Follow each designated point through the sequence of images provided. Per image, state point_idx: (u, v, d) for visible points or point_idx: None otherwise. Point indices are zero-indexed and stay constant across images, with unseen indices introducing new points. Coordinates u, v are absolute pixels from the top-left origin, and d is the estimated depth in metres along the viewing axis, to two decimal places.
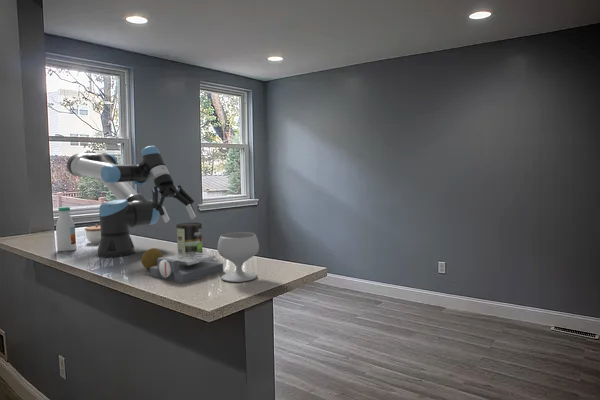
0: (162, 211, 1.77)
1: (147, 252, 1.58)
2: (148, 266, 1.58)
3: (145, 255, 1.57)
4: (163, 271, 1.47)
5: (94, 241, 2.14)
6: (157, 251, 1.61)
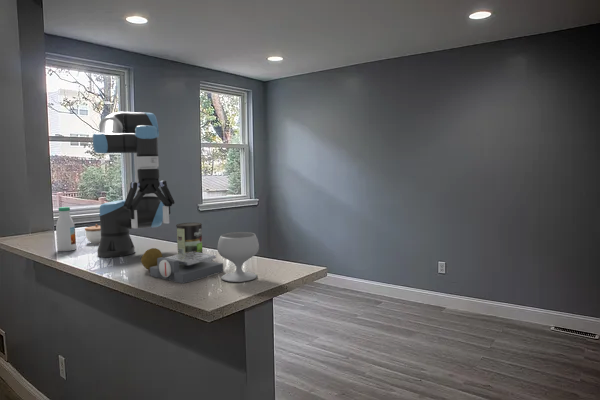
0: (132, 216, 1.53)
1: (147, 252, 1.58)
2: (148, 266, 1.58)
3: (145, 255, 1.57)
4: (163, 271, 1.47)
5: (94, 241, 2.14)
6: (157, 251, 1.61)
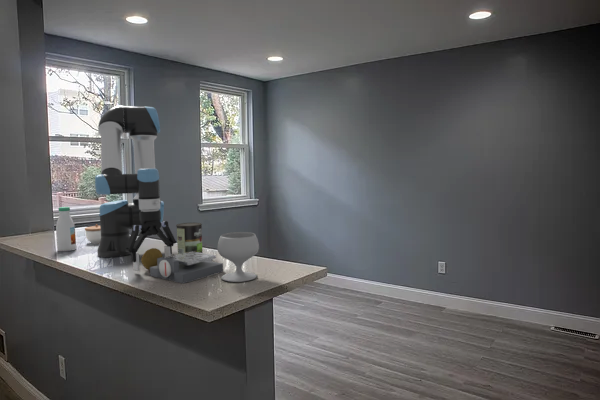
0: (134, 258, 1.54)
1: (147, 252, 1.58)
2: (148, 266, 1.58)
3: (145, 255, 1.57)
4: (163, 271, 1.47)
5: (94, 241, 2.14)
6: (157, 251, 1.61)
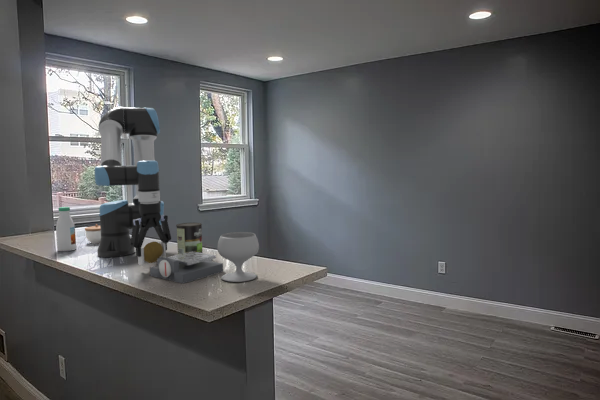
0: (139, 253, 1.56)
1: (147, 245, 1.59)
2: (148, 259, 1.59)
3: (145, 248, 1.58)
4: (163, 271, 1.47)
5: (94, 241, 2.14)
6: (157, 244, 1.62)
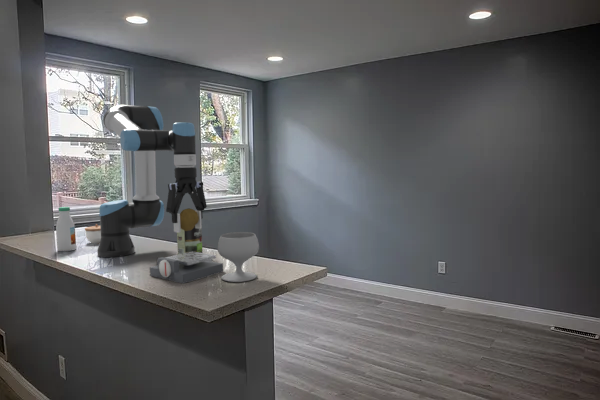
0: (175, 219, 1.49)
1: (183, 212, 1.51)
2: (184, 226, 1.51)
3: (181, 215, 1.50)
4: (163, 271, 1.47)
5: (94, 241, 2.14)
6: (193, 211, 1.54)
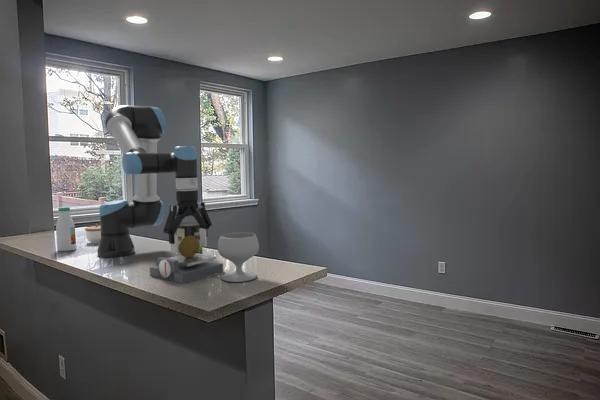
0: (173, 240, 1.48)
1: (185, 239, 1.52)
2: (186, 254, 1.52)
3: (183, 242, 1.51)
4: (163, 271, 1.47)
5: (94, 241, 2.14)
6: (194, 239, 1.55)
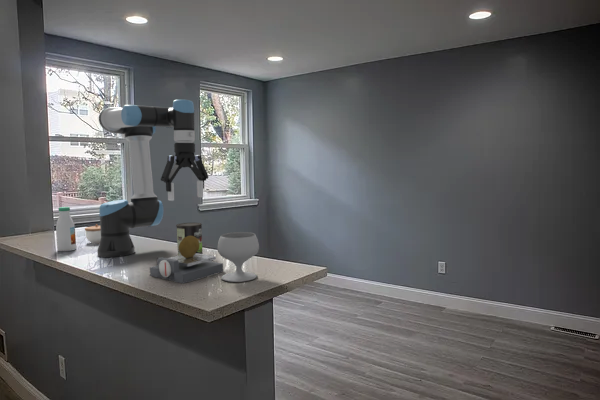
0: (169, 188, 1.56)
1: (185, 239, 1.52)
2: (186, 254, 1.52)
3: (183, 242, 1.51)
4: (163, 271, 1.47)
5: (94, 241, 2.14)
6: (194, 239, 1.55)
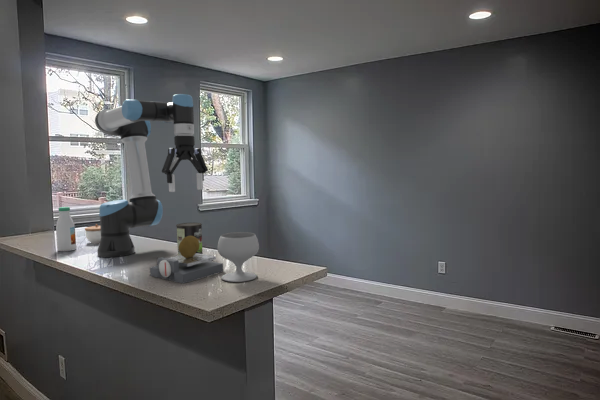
0: (170, 180, 1.61)
1: (185, 239, 1.52)
2: (186, 254, 1.52)
3: (183, 242, 1.51)
4: (163, 271, 1.47)
5: (94, 241, 2.14)
6: (194, 239, 1.55)
